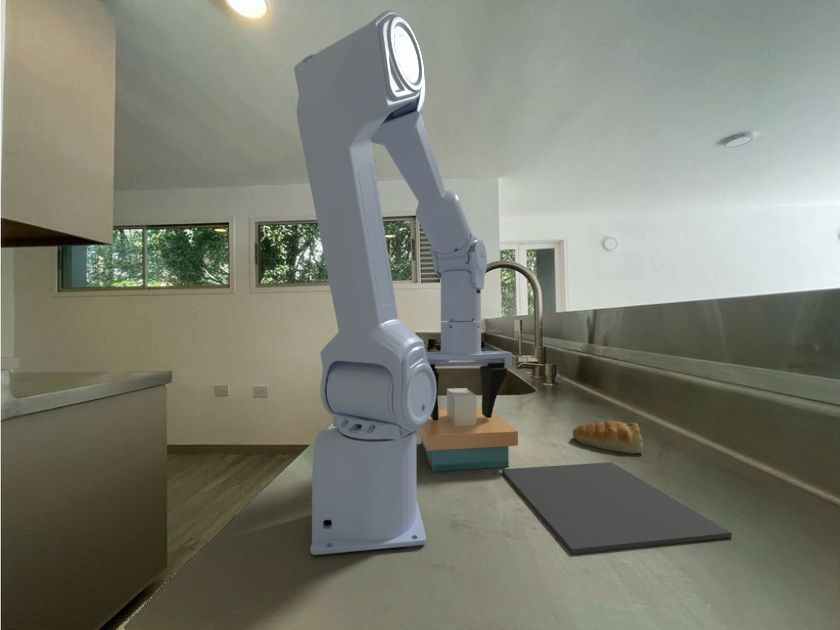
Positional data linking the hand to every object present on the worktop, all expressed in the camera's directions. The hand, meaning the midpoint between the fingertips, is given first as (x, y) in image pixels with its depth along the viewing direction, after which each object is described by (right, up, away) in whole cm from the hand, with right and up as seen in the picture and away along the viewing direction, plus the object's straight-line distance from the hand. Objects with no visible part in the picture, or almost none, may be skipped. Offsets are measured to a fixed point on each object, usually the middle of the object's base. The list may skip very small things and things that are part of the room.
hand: (460, 417), depth 48 cm
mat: (+13, -5, -12) cm, 19 cm away
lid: (0, -1, 0) cm, 1 cm away
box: (0, -5, 0) cm, 5 cm away
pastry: (+23, -6, +4) cm, 24 cm away
